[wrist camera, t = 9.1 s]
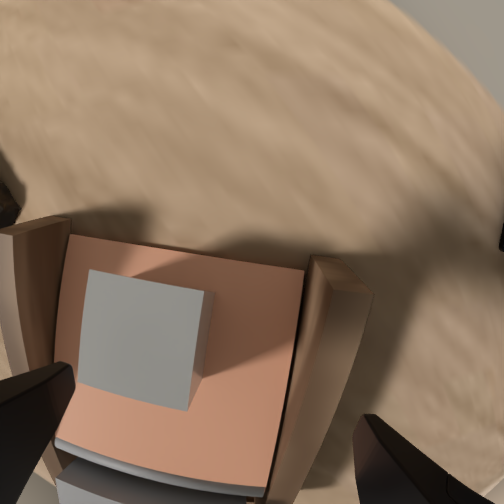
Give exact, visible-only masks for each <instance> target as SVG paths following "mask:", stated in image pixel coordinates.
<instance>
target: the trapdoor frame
mask: <svg viewBox="0 0 504 504" xmlns="http://www.w3.org/2000/svg"><path fill="white" fill-rule="evenodd" d="M70 234H71V219H70V218H63V217H56V216H47V217H43V218H39V219H35V220H31V221H27V222H24V223H20V224H16V225H12V226H9V227H5V228H1V229H0V323H1V329H2V334H3V339H4V343H5V348H6V352H7V356H8V361H9V365H10V368H11V372H12V376H16V375H19V374H22V373H25V372H28V371H31V370H34V369H38V368H41V367H44V366H47V365H49V364H52V363H54V353H55V337H56V324H57V314H58V305H59V297H60V289H61V282H62V275H63V269H64V263H65V257H66V252H67V246H68V241H69V236H70ZM373 298H374V294H373V293H372V292H371V290H370V289H369V288H368V287H367V286H366V285H365V284H364V283H363V282H362V281H361V280H360V279H359V278H358V277H357V276H356V275H355V274H354V273H353V271H352V270H351V269H350V268H349V267H348V266H347V265H346V264H345V263H344V262H343V261H342V260H341V259H337V258H330V257H324V256H317V255H311V256H310V261H309V266H308V271H307V276H306V281H305V285H304V290H303V295H302V299H301V304H300V309H299V314H298V321H297V327H296V334H295V340H294V346H293V352H292V358H291V364H290V370H289V376H288V382H287V387H286V393H285V398H284V403H283V409H282V414H281V419H280V424H279V429H278V434H277V439H276V444H275V449H274V453H273V458H272V463H271V467H270V472H269V476H268V481H267V485H266V489H265V492H264V495H263V497H251V496H246V504H293V502H294V500H295V498H296V496H297V495H298V493H299V491H300V489H301V487H302V485H303V483H304V481H305V479H306V477H307V475H308V473H309V471H310V468H311V466H312V464H313V462H314V460H315V458H316V456H317V453H318V451H319V449H320V447H321V445H322V442H323V440H324V438H325V435H326V433H327V431H328V428H329V426H330V424H331V421H332V419H333V416H334V414H335V411H336V409H337V406H338V404H339V401H340V399H341V396H342V393H343V391H344V388H345V385H346V383H347V380H348V377H349V374H350V371H351V369H352V366H353V363H354V360H355V357H356V354H357V351H358V348H359V345H360V342H361V339H362V335H363V332H364V329H365V326H366V322H367V319H368V315H369V312H370V309H371V305H372V301H373ZM77 457H78V456H76V455H73V454H71V453H68V452H66V451H64V450H61V449H59V448H57V447H56V446H55V434H54V435H53V437H52V439H51V440H50V442H49V444H48V446H47V447H46V449H45V451H44V453H43V454H42V458H43V461H44V463H45V465H46V467H47V469H48V471H49V473H50V475H51V477H52V479H53V481H54V483H55V485H56V479H55V478H56V477H57V476H58V475H59V474H60V473H61V472H62V471H63V470H64V469H65V468H66V467H67V466H68V465H69V464H71V463H72V462H73V461H74V460H75V459H76V458H77ZM56 487H57V485H56Z"/></svg>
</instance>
